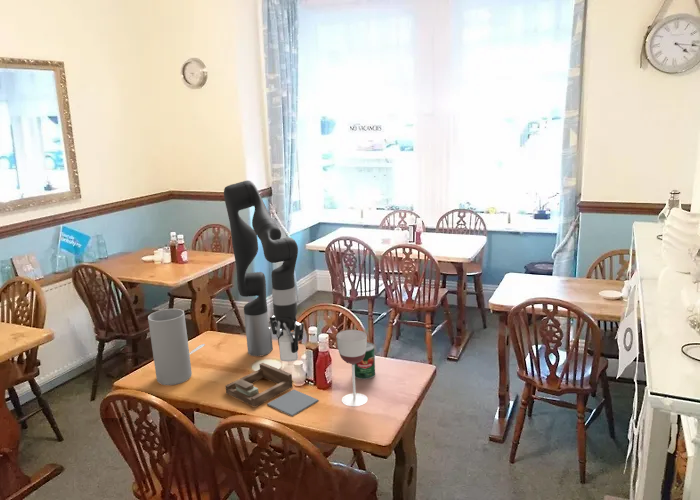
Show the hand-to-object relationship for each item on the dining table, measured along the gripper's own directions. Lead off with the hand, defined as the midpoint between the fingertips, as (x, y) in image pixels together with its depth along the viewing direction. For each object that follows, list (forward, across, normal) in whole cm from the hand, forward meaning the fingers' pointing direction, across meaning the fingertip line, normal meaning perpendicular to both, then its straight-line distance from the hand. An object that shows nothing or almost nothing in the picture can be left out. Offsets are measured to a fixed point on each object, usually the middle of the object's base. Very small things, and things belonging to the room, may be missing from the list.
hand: (288, 349), depth 185 cm
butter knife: (+20, +61, +2) cm, 65 cm away
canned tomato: (+19, -6, -30) cm, 36 cm away
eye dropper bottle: (+4, 0, 0) cm, 4 cm away
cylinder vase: (+19, +49, +14) cm, 54 cm away
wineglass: (+19, -15, -14) cm, 28 cm away
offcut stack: (+19, +16, +6) cm, 26 cm away
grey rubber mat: (+19, 0, 0) cm, 19 cm away
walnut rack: (+19, +16, +1) cm, 25 cm away
